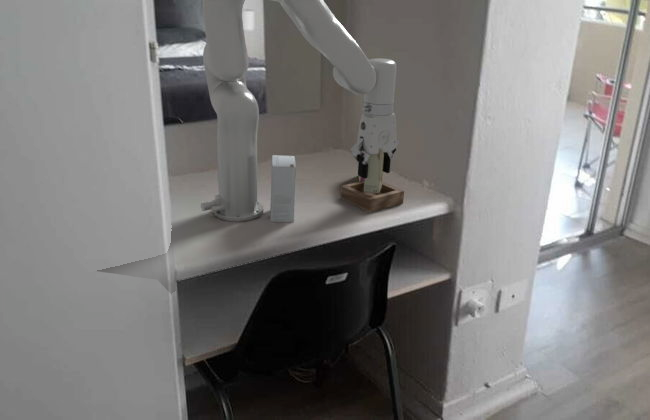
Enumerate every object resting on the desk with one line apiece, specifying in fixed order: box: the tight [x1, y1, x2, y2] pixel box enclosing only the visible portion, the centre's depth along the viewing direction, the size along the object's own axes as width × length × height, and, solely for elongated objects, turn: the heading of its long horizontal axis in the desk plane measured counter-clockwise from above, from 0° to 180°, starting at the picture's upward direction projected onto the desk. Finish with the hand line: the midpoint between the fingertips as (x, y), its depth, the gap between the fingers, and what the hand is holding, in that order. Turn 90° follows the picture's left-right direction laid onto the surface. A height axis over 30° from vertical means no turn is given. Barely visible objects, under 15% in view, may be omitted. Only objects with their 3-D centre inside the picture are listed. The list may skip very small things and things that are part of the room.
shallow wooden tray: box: [340, 181, 405, 213], centre depth 162 cm, size 12×12×4 cm
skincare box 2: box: [364, 149, 384, 193], centre depth 159 cm, size 6×4×12 cm
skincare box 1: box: [269, 154, 297, 223], centre depth 148 cm, size 8×6×15 cm
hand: (373, 173), depth 160 cm, fingers closed on skincare box 2, 7 cm apart
